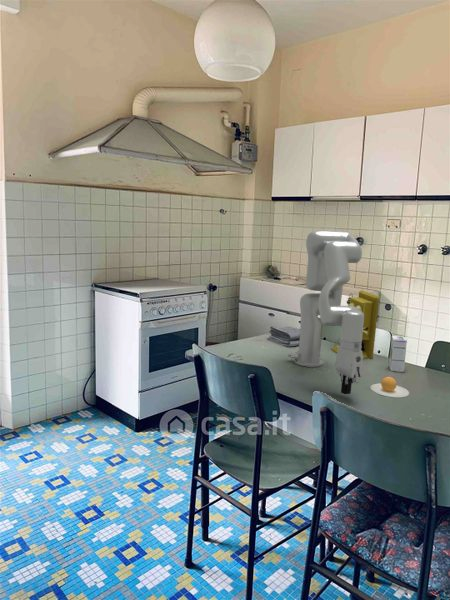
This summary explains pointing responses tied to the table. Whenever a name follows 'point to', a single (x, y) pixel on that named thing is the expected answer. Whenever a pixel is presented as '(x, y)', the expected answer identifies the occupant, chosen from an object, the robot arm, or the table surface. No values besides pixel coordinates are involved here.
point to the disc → (396, 393)
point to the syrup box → (397, 353)
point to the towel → (285, 336)
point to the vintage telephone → (366, 320)
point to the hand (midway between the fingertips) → (345, 393)
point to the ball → (388, 384)
